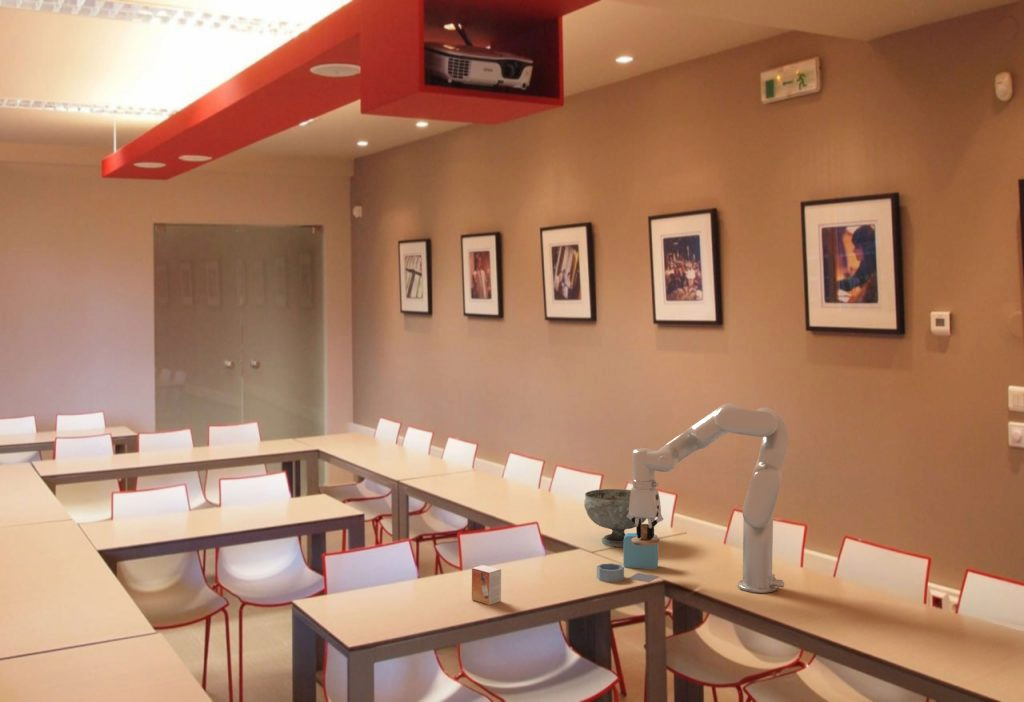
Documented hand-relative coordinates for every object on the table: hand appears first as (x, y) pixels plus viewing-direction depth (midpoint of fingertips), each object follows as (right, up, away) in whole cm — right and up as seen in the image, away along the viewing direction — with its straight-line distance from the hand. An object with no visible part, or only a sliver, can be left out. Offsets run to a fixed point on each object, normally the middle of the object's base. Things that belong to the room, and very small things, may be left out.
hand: (645, 537), depth 335 cm
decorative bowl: (-4, -12, +51) cm, 53 cm away
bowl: (-12, -15, 0) cm, 19 cm away
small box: (-54, -16, -22) cm, 60 cm away
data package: (0, -14, +15) cm, 20 cm away
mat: (-1, -14, +1) cm, 15 cm away
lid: (0, -2, 0) cm, 2 cm away
